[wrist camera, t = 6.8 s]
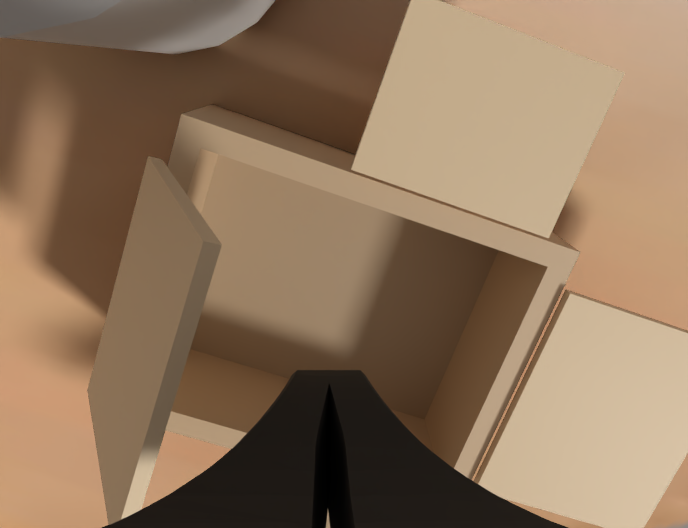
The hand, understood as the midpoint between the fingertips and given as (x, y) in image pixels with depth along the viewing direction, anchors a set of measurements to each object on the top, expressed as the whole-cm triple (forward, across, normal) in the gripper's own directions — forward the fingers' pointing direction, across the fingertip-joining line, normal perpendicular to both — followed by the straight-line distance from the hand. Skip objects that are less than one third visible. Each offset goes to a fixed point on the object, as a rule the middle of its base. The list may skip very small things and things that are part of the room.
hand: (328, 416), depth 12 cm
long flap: (+1, +4, -1) cm, 4 cm away
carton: (+8, -3, -1) cm, 9 cm away
